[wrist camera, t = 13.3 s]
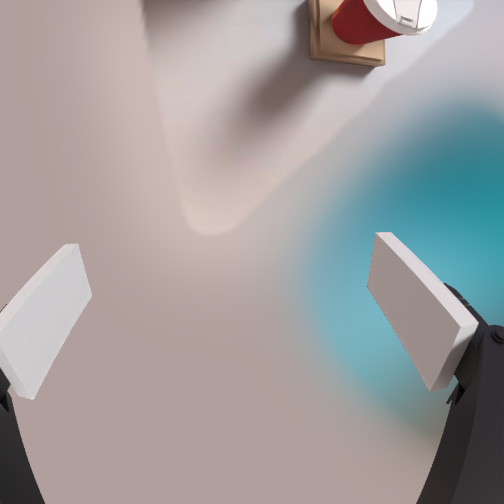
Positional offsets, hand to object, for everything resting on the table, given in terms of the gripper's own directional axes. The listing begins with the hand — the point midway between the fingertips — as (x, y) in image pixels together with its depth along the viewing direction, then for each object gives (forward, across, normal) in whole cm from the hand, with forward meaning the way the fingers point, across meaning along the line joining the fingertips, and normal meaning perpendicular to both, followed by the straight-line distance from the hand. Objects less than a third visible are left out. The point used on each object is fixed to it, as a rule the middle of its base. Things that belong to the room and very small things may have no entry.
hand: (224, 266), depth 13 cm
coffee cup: (+29, +16, +19) cm, 38 cm away
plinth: (+33, +16, +19) cm, 41 cm away
